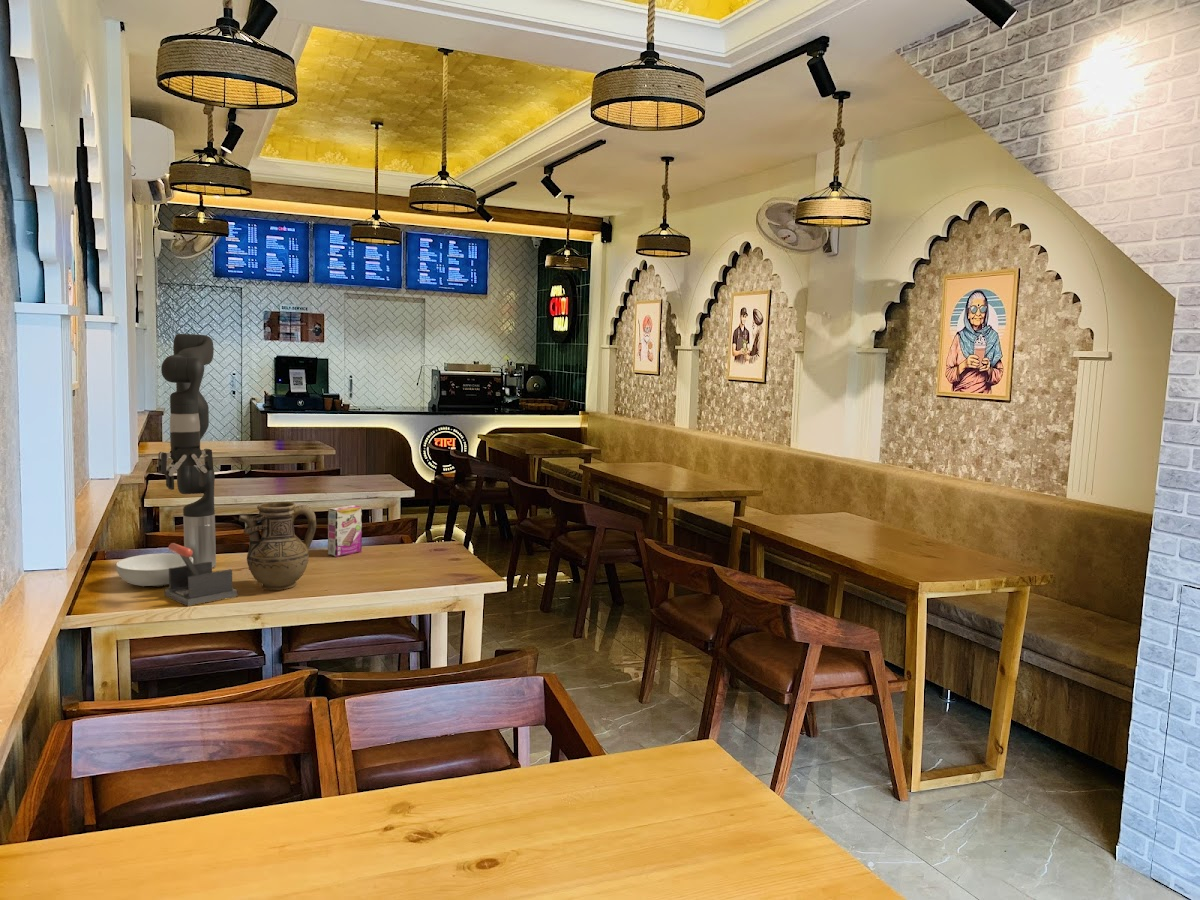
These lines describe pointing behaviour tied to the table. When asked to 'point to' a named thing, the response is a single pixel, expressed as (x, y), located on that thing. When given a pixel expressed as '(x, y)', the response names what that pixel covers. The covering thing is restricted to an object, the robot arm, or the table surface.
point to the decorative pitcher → (278, 544)
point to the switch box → (199, 584)
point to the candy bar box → (344, 530)
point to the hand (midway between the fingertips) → (186, 487)
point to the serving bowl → (149, 568)
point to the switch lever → (184, 556)
